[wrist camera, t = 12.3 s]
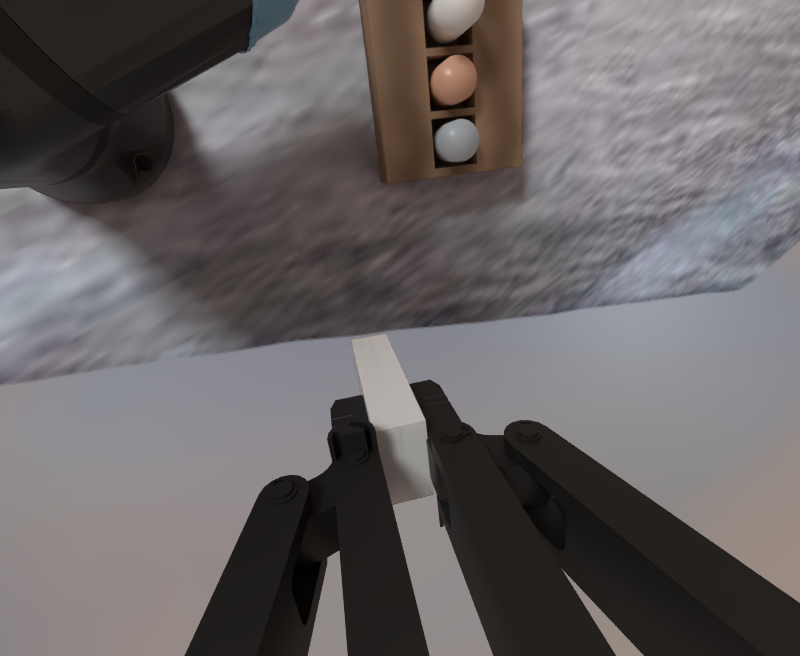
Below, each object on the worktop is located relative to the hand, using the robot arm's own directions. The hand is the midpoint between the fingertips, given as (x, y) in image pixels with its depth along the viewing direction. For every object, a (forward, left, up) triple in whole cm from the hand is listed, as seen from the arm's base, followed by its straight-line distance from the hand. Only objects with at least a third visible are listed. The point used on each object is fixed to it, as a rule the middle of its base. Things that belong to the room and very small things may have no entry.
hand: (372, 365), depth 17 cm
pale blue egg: (+13, +9, -28) cm, 32 cm away
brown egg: (+13, +14, -28) cm, 34 cm away
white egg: (+13, +19, -26) cm, 34 cm away
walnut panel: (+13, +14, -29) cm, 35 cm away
